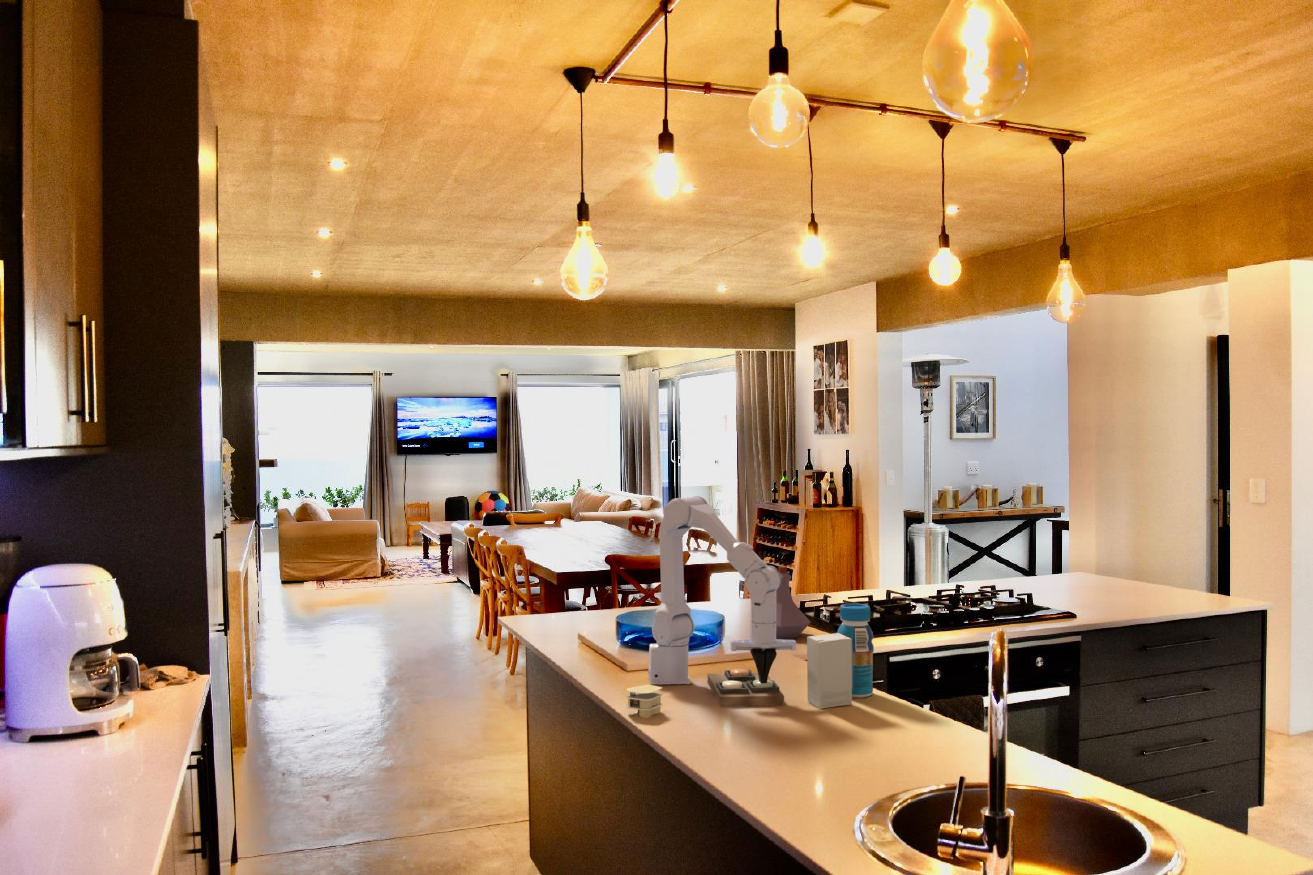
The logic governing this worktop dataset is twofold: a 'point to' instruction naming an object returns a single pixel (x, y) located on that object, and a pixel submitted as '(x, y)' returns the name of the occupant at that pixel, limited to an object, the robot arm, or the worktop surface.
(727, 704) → the button board
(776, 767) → the worktop surface
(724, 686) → the cream button
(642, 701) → the beige layered block
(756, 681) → the sage button
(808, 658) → the skincare box
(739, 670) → the terracotta button
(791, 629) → the flask
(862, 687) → the beverage bottle
